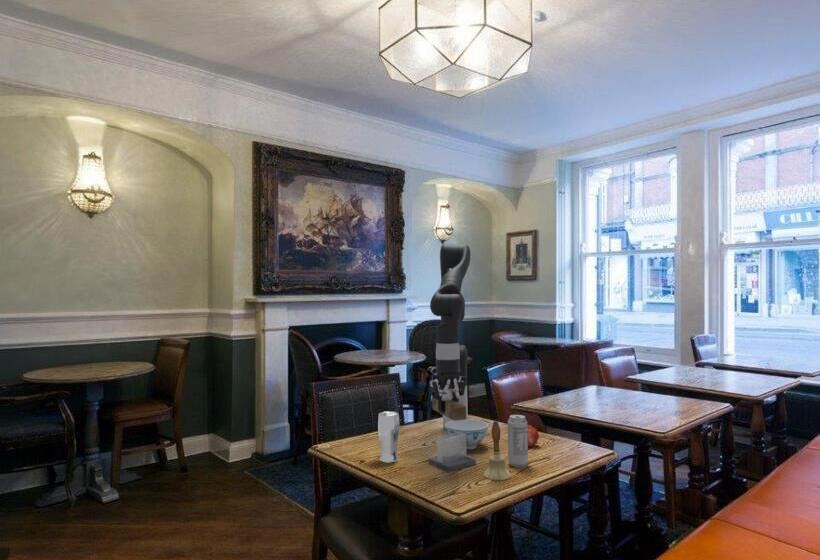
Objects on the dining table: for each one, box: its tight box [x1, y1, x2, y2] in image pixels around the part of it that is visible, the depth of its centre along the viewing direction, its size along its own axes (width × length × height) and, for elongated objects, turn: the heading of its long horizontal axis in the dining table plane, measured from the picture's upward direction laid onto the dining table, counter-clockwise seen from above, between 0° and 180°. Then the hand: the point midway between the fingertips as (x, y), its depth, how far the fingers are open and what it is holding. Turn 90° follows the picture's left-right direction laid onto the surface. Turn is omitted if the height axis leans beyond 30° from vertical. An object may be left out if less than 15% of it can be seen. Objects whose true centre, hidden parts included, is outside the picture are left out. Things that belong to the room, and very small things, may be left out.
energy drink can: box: [507, 414, 529, 468], centre depth 161 cm, size 6×6×15 cm
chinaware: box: [445, 419, 489, 450], centre depth 180 cm, size 15×15×8 cm
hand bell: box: [482, 420, 512, 481], centre depth 152 cm, size 8×8×16 cm
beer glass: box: [377, 411, 400, 463], centre depth 166 cm, size 7×7×15 cm
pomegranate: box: [527, 424, 540, 448], centre depth 181 cm, size 7×7×10 cm
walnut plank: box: [431, 397, 466, 421], centre depth 162 cm, size 16×4×4 cm, turn 22°
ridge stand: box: [428, 432, 477, 473], centre depth 162 cm, size 10×11×9 cm
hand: (448, 410), depth 162 cm, fingers closed on walnut plank, 4 cm apart
